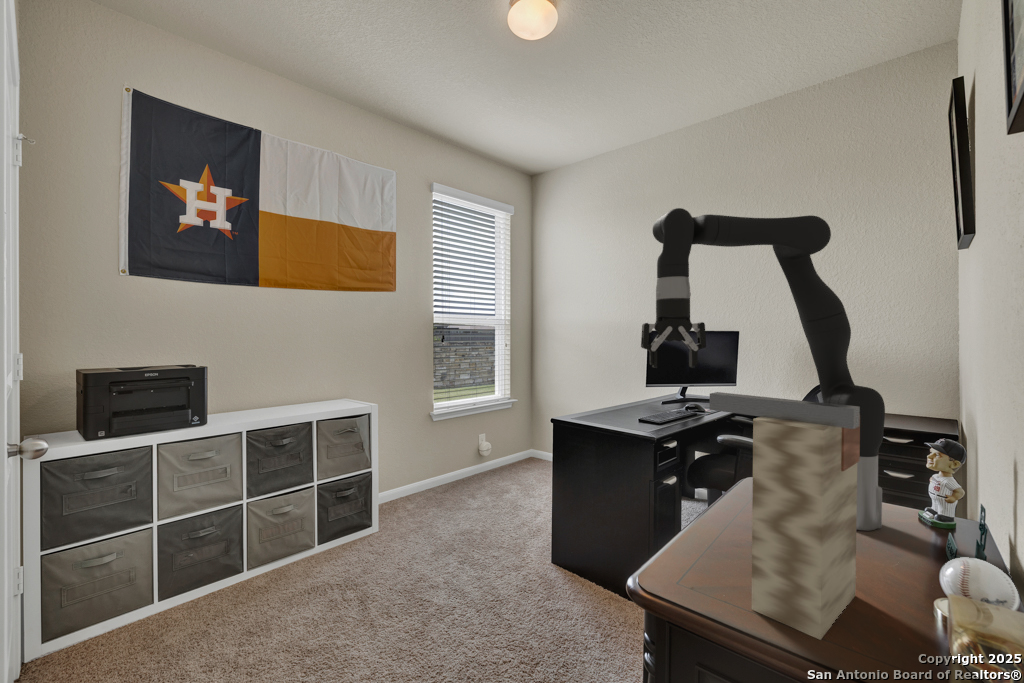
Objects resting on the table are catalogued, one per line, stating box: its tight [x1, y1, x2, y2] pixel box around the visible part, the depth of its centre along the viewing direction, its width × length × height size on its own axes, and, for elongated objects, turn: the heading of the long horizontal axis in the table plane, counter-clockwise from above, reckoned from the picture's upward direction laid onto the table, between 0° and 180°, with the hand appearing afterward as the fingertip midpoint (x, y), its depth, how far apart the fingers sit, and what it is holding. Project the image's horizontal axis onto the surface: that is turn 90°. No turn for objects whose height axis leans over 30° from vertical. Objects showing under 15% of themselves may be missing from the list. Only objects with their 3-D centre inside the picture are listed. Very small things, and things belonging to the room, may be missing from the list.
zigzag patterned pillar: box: [751, 416, 860, 641], centre depth 79 cm, size 10×18×32 cm, turn 130°
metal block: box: [709, 391, 860, 429], centre depth 78 cm, size 22×3×3 cm, turn 40°
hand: (673, 367), depth 108 cm, fingers open, 8 cm apart
